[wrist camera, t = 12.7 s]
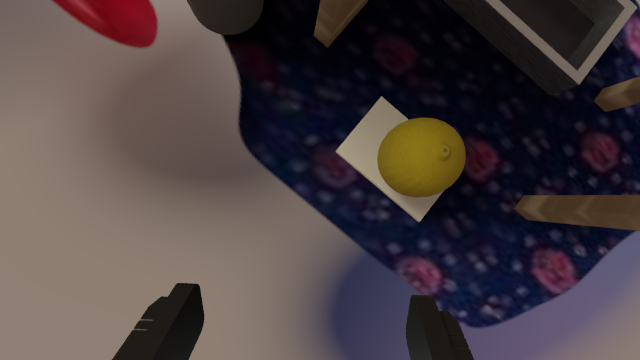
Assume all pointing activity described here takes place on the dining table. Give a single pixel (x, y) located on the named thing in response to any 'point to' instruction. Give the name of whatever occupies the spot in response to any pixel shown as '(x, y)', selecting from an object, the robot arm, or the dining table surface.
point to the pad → (364, 153)
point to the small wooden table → (589, 210)
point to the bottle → (227, 14)
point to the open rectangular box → (548, 34)
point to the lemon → (421, 157)
